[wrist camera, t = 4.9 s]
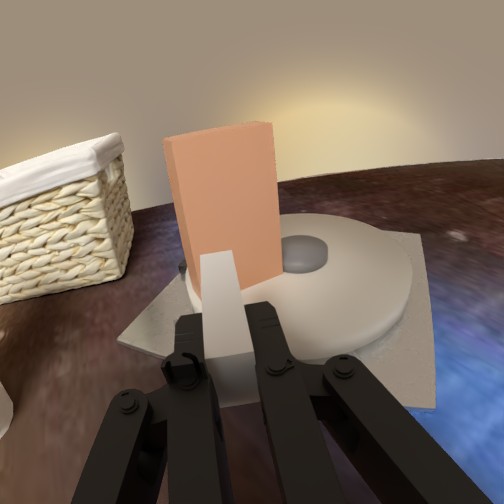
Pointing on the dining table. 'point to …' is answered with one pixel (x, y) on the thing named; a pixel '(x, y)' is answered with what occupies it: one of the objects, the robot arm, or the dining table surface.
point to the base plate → (371, 355)
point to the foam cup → (5, 411)
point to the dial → (283, 244)
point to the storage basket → (64, 220)
